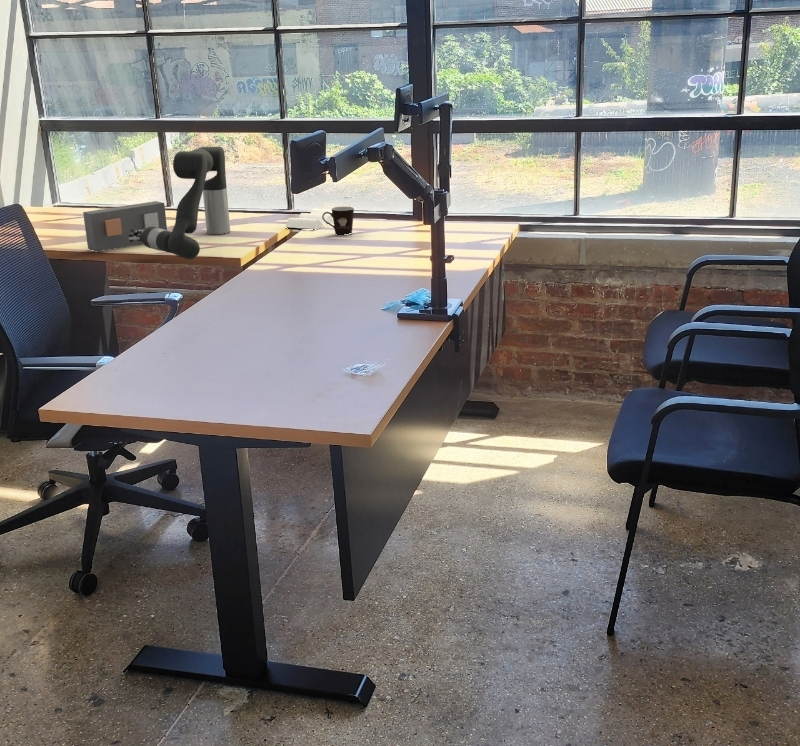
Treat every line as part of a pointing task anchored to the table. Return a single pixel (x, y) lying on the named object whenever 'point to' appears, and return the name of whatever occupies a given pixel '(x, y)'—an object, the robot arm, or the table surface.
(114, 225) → the terracotta plunger
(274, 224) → the table surface
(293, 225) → the file organizer
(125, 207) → the press panel
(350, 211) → the coffee mug
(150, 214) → the grey plunger
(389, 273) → the table surface
